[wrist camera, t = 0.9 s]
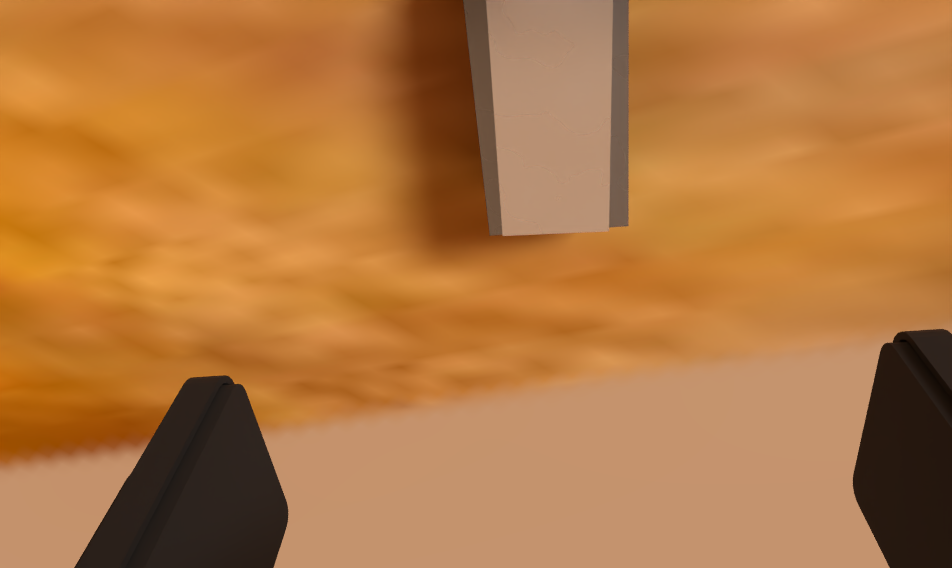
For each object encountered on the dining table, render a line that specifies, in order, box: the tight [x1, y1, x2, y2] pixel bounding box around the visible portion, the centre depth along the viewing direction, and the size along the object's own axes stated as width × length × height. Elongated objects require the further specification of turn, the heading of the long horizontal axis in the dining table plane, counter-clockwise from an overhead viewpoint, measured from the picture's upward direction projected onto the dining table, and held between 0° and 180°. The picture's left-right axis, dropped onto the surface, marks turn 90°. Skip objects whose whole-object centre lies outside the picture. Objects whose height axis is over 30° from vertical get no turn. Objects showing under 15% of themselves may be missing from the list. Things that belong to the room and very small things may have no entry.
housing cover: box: [486, 0, 613, 236], centre depth 23 cm, size 4×9×2 cm, turn 4°
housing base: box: [463, 0, 628, 236], centre depth 26 cm, size 5×10×4 cm, turn 6°
